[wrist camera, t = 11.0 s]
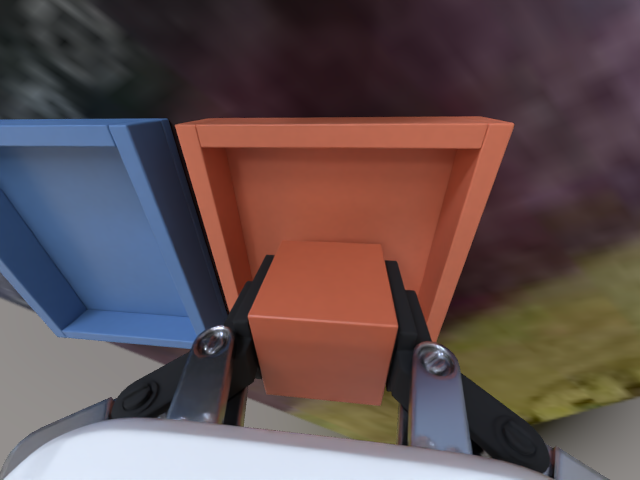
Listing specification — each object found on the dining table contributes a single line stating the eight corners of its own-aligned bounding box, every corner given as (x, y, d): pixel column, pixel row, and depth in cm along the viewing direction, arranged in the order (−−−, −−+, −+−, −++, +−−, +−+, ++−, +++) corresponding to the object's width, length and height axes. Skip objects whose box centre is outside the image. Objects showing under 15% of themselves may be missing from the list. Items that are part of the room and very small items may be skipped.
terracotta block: (381, 243, 11) (399, 327, 7) (371, 314, 13) (381, 406, 9) (281, 239, 11) (246, 315, 7) (289, 309, 13) (265, 395, 9)
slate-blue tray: (168, 118, 11) (126, 124, 9) (229, 321, 18) (213, 351, 16) (-47, 119, 12) (-130, 125, 10) (89, 310, 19) (57, 337, 17)
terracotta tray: (480, 116, 10) (516, 123, 8) (416, 335, 17) (426, 370, 15) (207, 117, 11) (173, 124, 9) (254, 323, 18) (241, 354, 16)
